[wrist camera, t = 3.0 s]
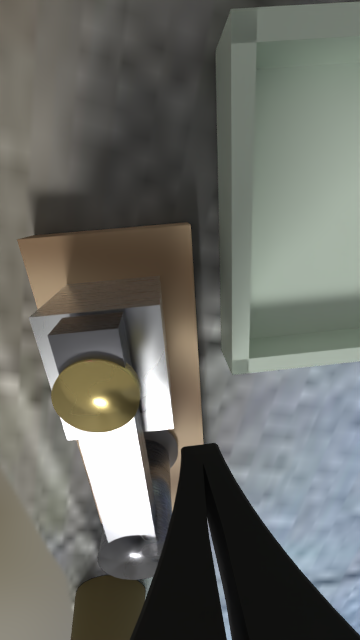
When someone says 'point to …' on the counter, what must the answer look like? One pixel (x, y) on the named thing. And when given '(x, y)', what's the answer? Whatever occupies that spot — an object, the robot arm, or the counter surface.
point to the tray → (289, 186)
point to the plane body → (124, 263)
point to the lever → (113, 441)
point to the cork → (107, 608)
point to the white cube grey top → (142, 331)
